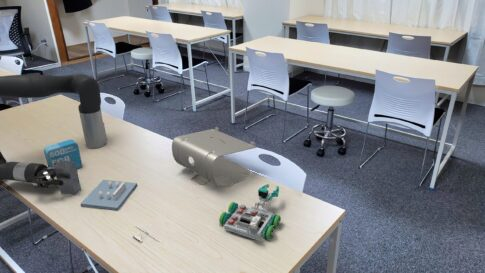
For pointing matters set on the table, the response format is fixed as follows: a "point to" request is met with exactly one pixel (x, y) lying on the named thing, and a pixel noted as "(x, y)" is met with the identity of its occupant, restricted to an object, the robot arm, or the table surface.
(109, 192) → the pin tray
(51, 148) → the data package
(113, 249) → the table surface
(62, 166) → the dark grey rectangular block
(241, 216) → the robot kit
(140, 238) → the picture light
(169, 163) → the table surface
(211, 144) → the curved metal cover
